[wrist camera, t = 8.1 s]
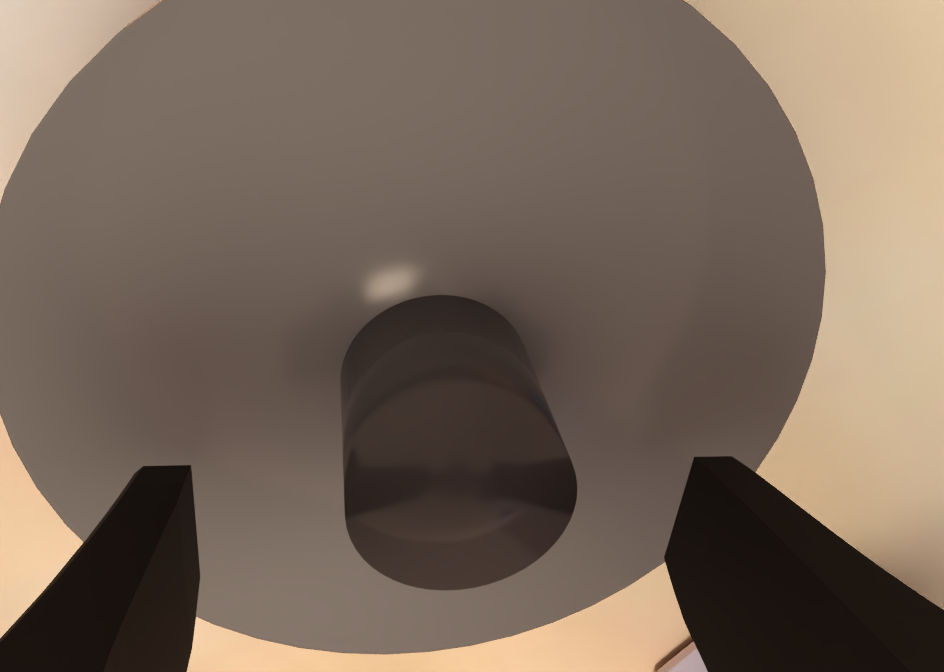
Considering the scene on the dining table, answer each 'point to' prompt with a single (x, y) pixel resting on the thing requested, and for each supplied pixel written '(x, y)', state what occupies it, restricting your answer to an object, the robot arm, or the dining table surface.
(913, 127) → the dining table surface
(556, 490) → the lid
